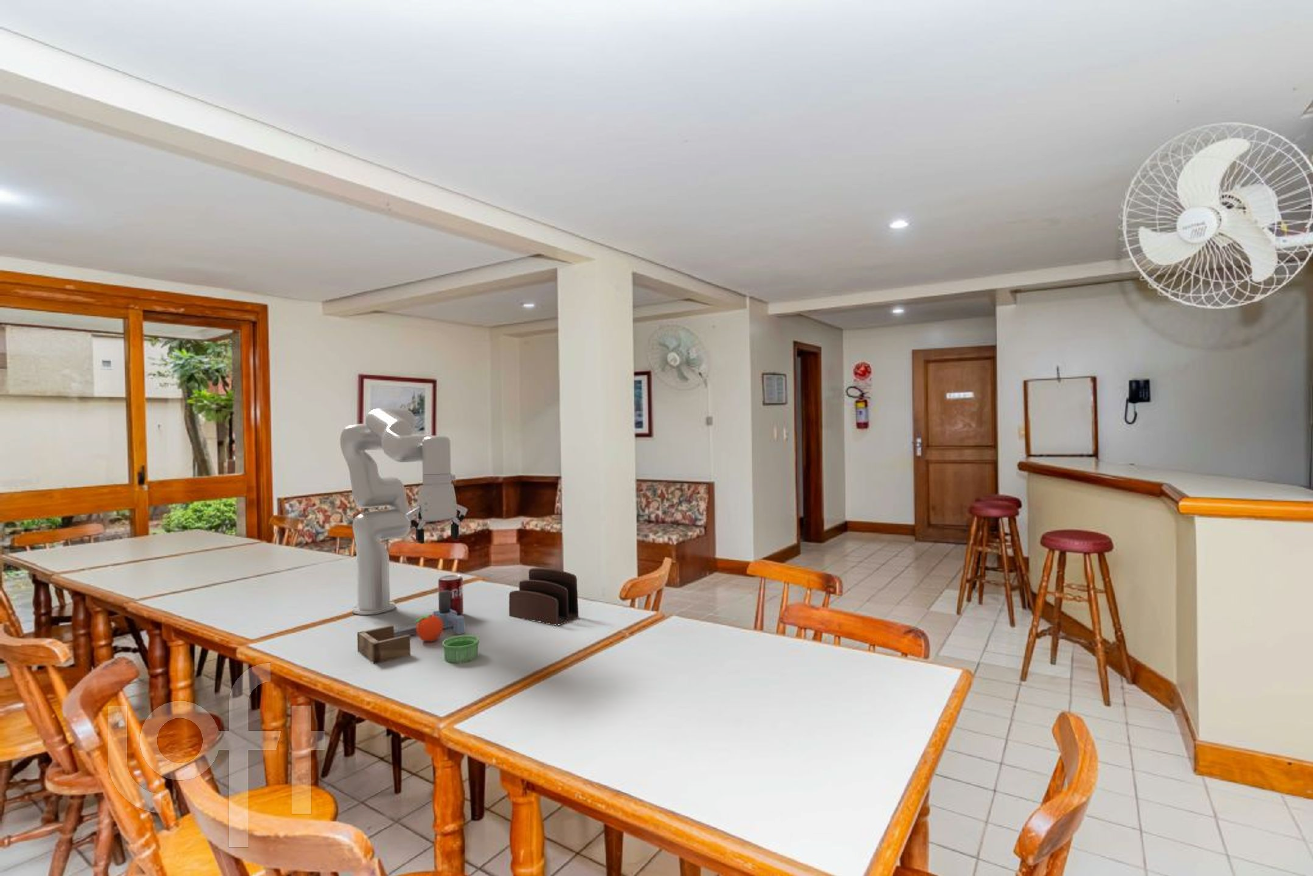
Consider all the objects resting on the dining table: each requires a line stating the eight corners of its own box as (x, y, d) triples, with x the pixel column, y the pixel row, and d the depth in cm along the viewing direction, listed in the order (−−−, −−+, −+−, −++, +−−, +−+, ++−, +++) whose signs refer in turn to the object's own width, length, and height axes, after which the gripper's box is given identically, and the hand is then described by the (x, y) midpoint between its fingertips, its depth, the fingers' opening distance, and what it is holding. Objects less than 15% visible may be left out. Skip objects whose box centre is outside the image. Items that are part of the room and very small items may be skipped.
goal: (357, 651, 169) (357, 632, 169) (392, 643, 175) (392, 624, 175) (374, 663, 160) (373, 644, 160) (410, 654, 166) (410, 635, 166)
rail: (378, 640, 178) (378, 632, 178) (452, 623, 192) (452, 616, 192) (382, 642, 176) (382, 635, 176) (457, 625, 190) (457, 618, 190)
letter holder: (531, 608, 208) (530, 565, 207) (579, 617, 197) (578, 572, 197) (508, 616, 199) (507, 571, 199) (557, 626, 189) (556, 578, 188)
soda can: (467, 612, 203) (466, 574, 203) (457, 619, 196) (457, 580, 196) (444, 612, 204) (444, 574, 204) (434, 619, 197) (434, 580, 196)
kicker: (433, 625, 190) (432, 591, 189) (449, 621, 193) (448, 588, 193) (452, 635, 180) (451, 600, 180) (469, 631, 184) (468, 596, 183)
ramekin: (486, 654, 166) (486, 637, 166) (462, 666, 158) (462, 648, 158) (459, 649, 170) (459, 633, 170) (434, 661, 162) (434, 643, 162)
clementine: (414, 647, 172) (413, 621, 172) (411, 639, 178) (410, 614, 178) (445, 642, 175) (444, 616, 175) (441, 635, 182) (440, 610, 181)
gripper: (460, 477, 189) (461, 535, 190) (400, 481, 178) (402, 543, 178) (471, 478, 184) (472, 538, 184) (410, 483, 172) (412, 546, 173)
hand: (437, 540), depth 181 cm, fingers open, 9 cm apart
